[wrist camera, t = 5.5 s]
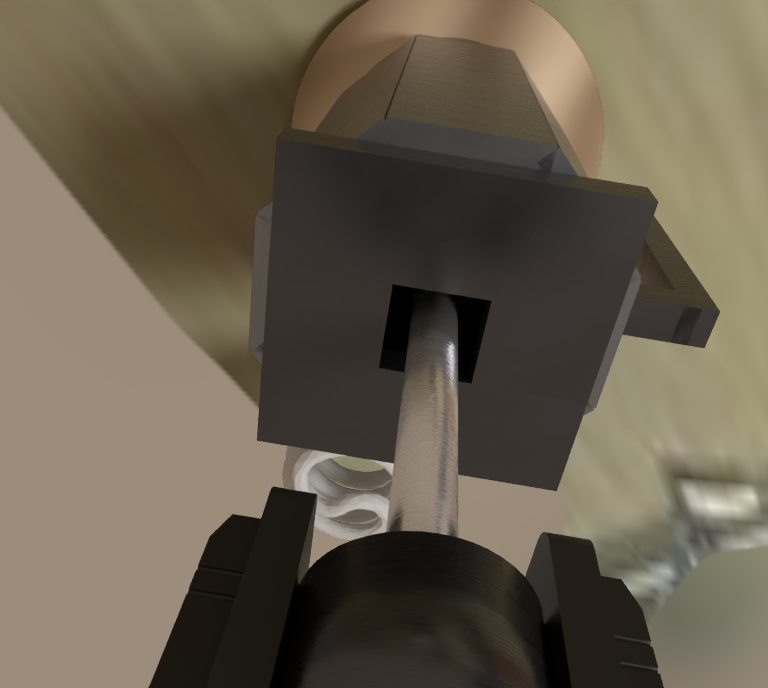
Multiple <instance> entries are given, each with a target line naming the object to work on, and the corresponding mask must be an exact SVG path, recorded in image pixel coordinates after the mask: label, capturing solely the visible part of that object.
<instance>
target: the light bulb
mask: <svg viewBox="0 0 768 688" xmlns="http://www.w3.org/2000/svg"><path fill="white" fill-rule="evenodd" d="M337 456H346V455H340V454H334V453H328V452H322V451H316V450H310V449H304V448H298V447H292V446H288V447H287V452H286V459H285V462H284V468H283V483H284V488H285V489H291V490H297V491H303V492H309V493H315V494H317V506H316V514H315V522H314V528H316V529H317V530H318V531H321V532H323V533H325V534H327V535H329V536H333V537H336V538H339V539H345V540H354V539H358V538H361V537H365V536H368V535H373V534H378V533H384V532H386V526H387V517H388V509H389V500H390V492H391V483H392V475H393V466H394V464H393V463H387V462H381V461H375V460H371V461H373V462H375V463H377V464H379V465H381V466H382V467H383V468H384V469H382V470H379V471H374V472H360V471H354V470H351V469H348V468H345V467H343V466H341V465H339V464H338V463H336V462H335V461H333V460H332V459H331V458H333V457H337ZM368 460H369V459H368ZM322 473H323V474H324V475H323V474H322ZM326 476H327V477H328V478H330V479H332V480H333V481H335V482H338V483H340V484H342V485H344V486H348V487H353V488H357V489H374V488H377V489H374V490H355V489H350V488H346V487H343V486H341V485H338V484H336V483H335V482H333V481H331V480H329V479H328V478H327V477H326ZM326 497H327V498H326ZM328 498H329V499H328ZM330 499H331V500H330ZM329 517H330V518H329ZM334 519H335V520H334ZM337 520H339V521H337ZM340 521H342V522H340ZM344 522H346V523H344ZM348 523H354V524H348Z"/></svg>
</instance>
